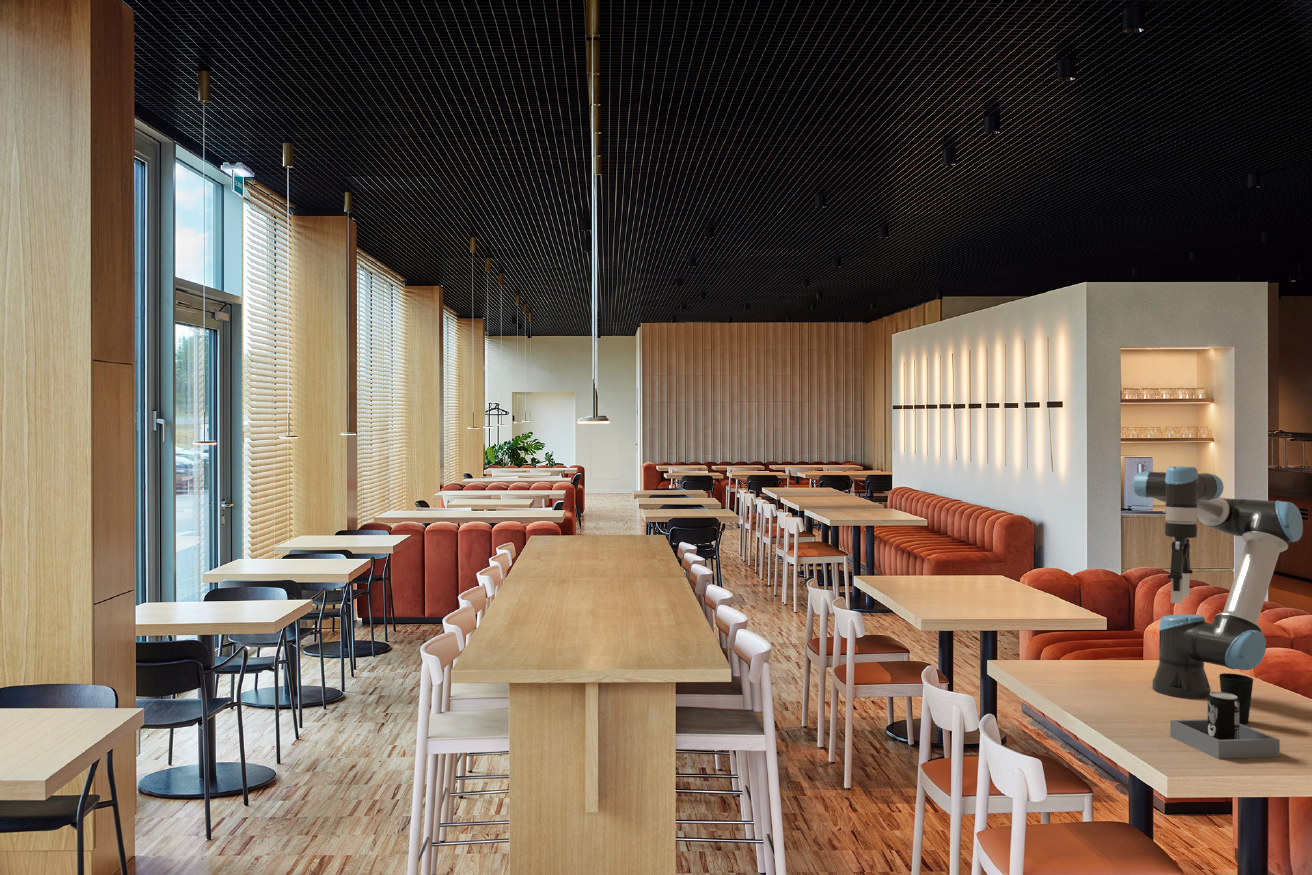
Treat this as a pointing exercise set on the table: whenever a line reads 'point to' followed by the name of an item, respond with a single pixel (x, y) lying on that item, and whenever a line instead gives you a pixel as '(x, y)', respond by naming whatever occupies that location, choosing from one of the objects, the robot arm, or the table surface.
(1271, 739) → the tray
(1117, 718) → the table surface
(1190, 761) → the table surface
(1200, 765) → the table surface
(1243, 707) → the cup
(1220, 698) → the beverage can
